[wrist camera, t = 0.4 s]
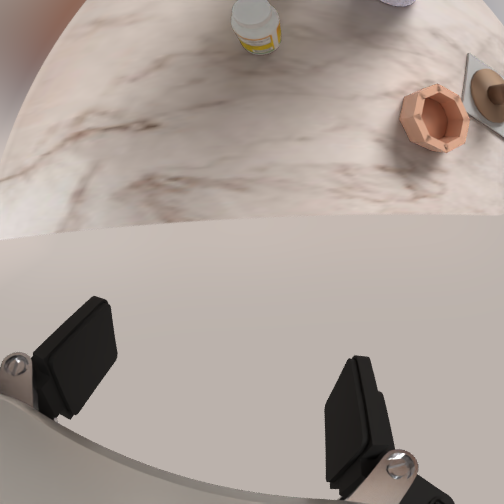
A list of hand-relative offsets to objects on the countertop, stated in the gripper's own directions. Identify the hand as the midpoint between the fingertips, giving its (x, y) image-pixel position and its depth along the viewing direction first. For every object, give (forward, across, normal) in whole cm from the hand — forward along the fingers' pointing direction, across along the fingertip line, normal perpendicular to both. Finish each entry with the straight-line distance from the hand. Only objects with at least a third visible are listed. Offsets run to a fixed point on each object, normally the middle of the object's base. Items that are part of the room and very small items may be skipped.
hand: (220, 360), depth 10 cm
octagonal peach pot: (+30, -18, -16) cm, 39 cm away
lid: (+30, -29, -24) cm, 48 cm away
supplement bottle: (+31, +5, -22) cm, 38 cm away
